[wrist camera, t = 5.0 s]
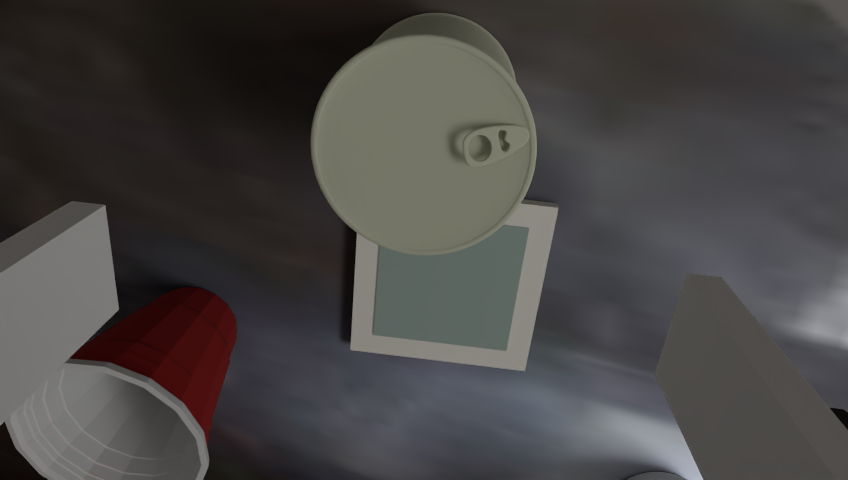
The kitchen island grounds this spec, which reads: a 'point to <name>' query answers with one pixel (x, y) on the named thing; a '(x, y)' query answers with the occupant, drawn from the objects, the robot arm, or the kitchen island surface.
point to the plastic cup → (133, 396)
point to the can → (425, 137)
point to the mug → (656, 476)
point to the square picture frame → (456, 295)
